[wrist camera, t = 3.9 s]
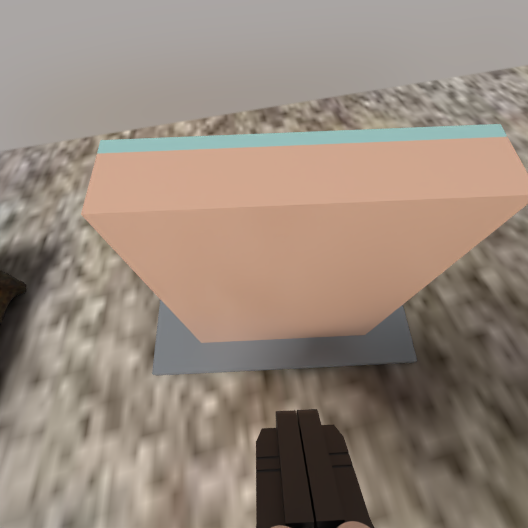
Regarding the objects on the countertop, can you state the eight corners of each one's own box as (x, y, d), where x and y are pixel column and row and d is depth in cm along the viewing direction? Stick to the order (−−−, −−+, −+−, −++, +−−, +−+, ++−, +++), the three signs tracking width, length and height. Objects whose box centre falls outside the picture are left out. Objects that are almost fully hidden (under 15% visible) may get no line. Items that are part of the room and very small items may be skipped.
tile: (358, 300, 18) (500, 124, 7) (365, 335, 17) (539, 194, 6) (202, 307, 18) (100, 140, 7) (201, 342, 17) (81, 214, 6)
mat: (359, 148, 24) (361, 142, 23) (412, 362, 17) (417, 361, 16) (178, 156, 24) (176, 150, 23) (156, 375, 17) (152, 373, 16)
